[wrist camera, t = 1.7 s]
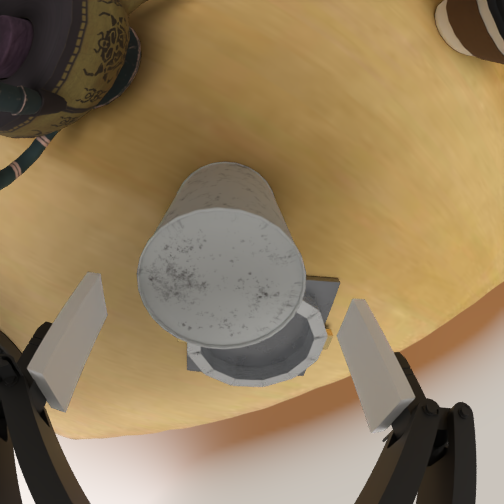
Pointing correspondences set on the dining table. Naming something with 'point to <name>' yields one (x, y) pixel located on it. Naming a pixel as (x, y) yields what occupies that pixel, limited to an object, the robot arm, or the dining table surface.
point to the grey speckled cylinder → (222, 261)
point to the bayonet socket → (274, 344)
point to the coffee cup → (473, 27)
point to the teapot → (60, 66)
